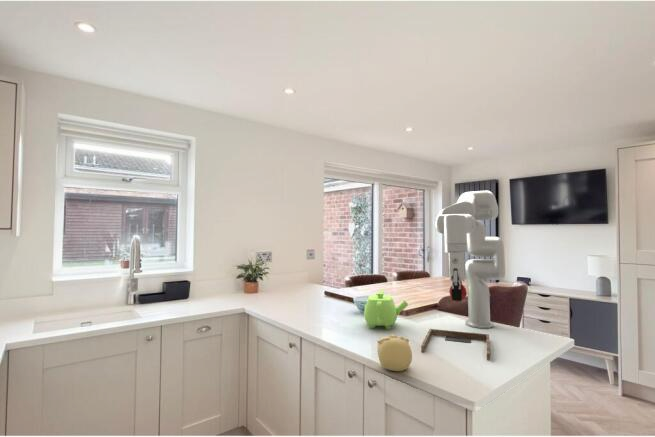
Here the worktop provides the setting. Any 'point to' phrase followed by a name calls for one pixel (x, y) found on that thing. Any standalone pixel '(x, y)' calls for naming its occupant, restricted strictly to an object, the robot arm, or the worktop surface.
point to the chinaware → (361, 302)
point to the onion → (461, 290)
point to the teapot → (382, 310)
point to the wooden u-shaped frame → (456, 338)
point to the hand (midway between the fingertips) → (457, 298)
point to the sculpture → (394, 353)
